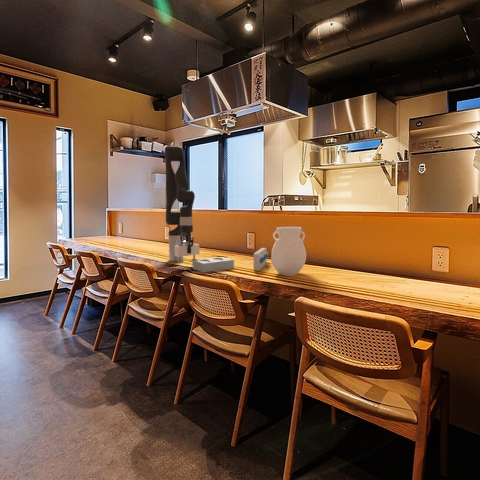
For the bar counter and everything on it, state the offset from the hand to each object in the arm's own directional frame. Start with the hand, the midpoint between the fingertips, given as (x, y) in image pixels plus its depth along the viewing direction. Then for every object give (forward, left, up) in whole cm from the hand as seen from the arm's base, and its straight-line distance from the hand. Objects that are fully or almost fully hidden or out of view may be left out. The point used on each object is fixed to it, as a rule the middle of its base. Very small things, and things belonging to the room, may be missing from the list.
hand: (187, 252), depth 206 cm
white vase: (+50, +36, -9) cm, 62 cm away
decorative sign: (+24, +38, -9) cm, 46 cm away
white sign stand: (0, 0, -5) cm, 5 cm away
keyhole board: (+12, +11, -9) cm, 19 cm away
